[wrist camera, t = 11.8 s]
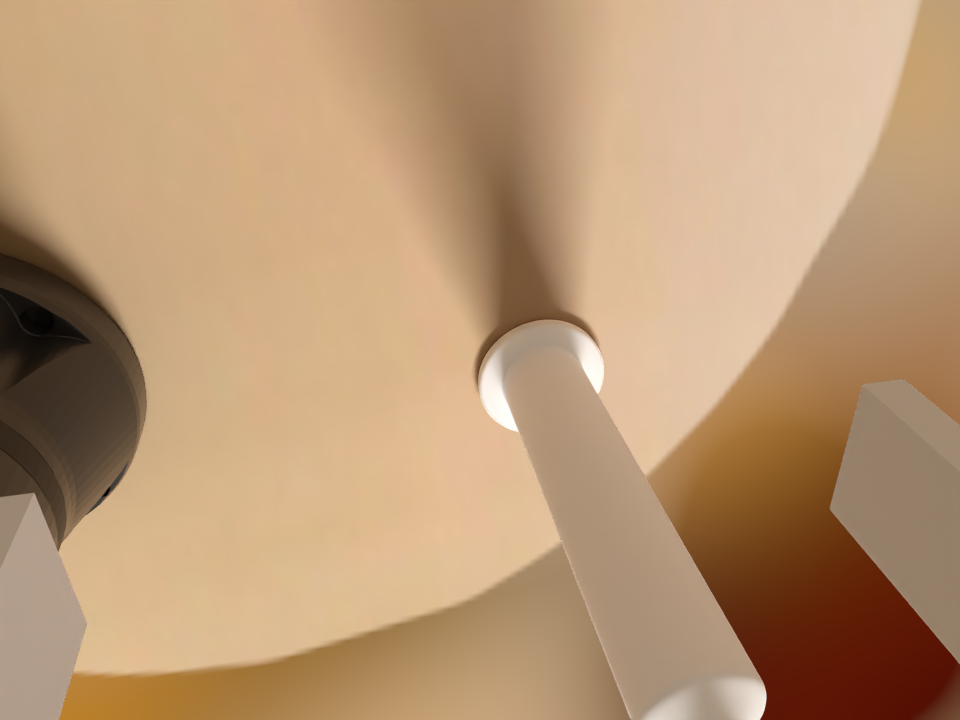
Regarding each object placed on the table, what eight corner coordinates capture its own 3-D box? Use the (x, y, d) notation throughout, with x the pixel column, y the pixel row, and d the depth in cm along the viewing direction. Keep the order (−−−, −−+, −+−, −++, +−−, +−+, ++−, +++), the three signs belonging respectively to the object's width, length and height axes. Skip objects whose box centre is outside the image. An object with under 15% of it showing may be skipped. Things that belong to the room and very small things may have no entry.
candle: (477, 323, 42) (650, 764, 21) (606, 313, 43) (892, 721, 22) (476, 432, 46) (623, 903, 25) (595, 420, 47) (833, 860, 26)
